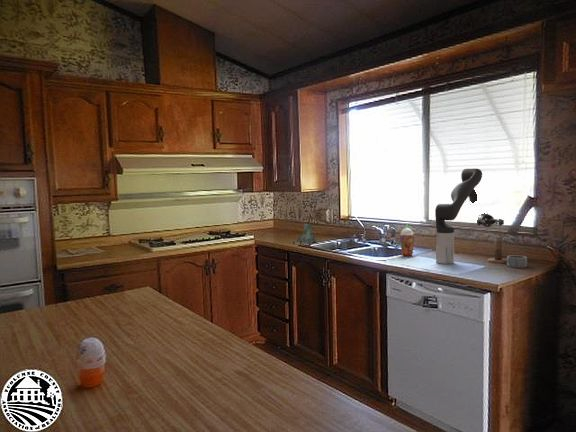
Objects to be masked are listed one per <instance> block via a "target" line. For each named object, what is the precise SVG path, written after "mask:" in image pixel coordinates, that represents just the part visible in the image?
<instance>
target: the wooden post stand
mask: <svg viewBox="0 0 576 432" xmlns="http://www.w3.org/2000/svg"><path fill="white" fill-rule="evenodd" d="M502 245H503V238H502V237H498V236H497V237H494V257H490V258H487V260H486V261H487V262H488V263H493V264H507V258H505V257H503V255H502V254H503V251H502V250H503V247H502Z"/></svg>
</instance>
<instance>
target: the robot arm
mask: <svg viewBox="0 0 576 432" xmlns="http://www.w3.org/2000/svg"><path fill="white" fill-rule="evenodd" d="M460 178H461V182H460V183H458V184H456V186H455V187H454V188H453V190H452V191H451V193H450V198H451V200H452V203H438V204H437V205H436V206H435V210H434V211H435V215H434V216H435V227H436V228H435V229H436V245H435V263H436V264H443V265H450V264H455V227H453V226H451V225H449V224H448V223H446V221H454V220H455V219H456V218H457V217H458V214H459V213H460V210H461V209H462V206H463V205H464V203H466V200H467V199H469V202H470V201H471V202H472V203H474V202H475V201H477V194H476V192H475V190H476V189H475V188H476V187H477V186H478V185H479V184H480V182H481V180H482V178H483V172H482V170H481V169H479V168H464V169H463V170H462V171H461V175H460ZM474 189H475V190H474ZM504 222H505V220H504V219H500V218H499V219H498V218H494V216H493V215H491V214H488V213H487V214H485V213H484V214H481V215H479V217H478V220H477V223H476V225H477V226H483V227H485V228H490V227H492V226H503V225H504V224H505V223H504Z"/></svg>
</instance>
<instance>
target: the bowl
mask: <svg viewBox="0 0 576 432" xmlns="http://www.w3.org/2000/svg"><path fill="white" fill-rule="evenodd" d="M506 259H507V263H506V265H507V267H509V268H519V269H522V268H527V266H528V257H527V256H525V255H518V254H517V255H512V254H511V255H506Z"/></svg>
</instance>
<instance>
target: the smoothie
mask: <svg viewBox="0 0 576 432" xmlns="http://www.w3.org/2000/svg"><path fill="white" fill-rule="evenodd" d="M399 235H400V249H401V255H402V256H403V257H411V256H412V257H413V254H414V253H413V252H414V235H415V233H414V231H413V230H412V229H411V228H409V227H408V223H406V227H405V228H403V229H402V230H401V232H400V233H399Z"/></svg>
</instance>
